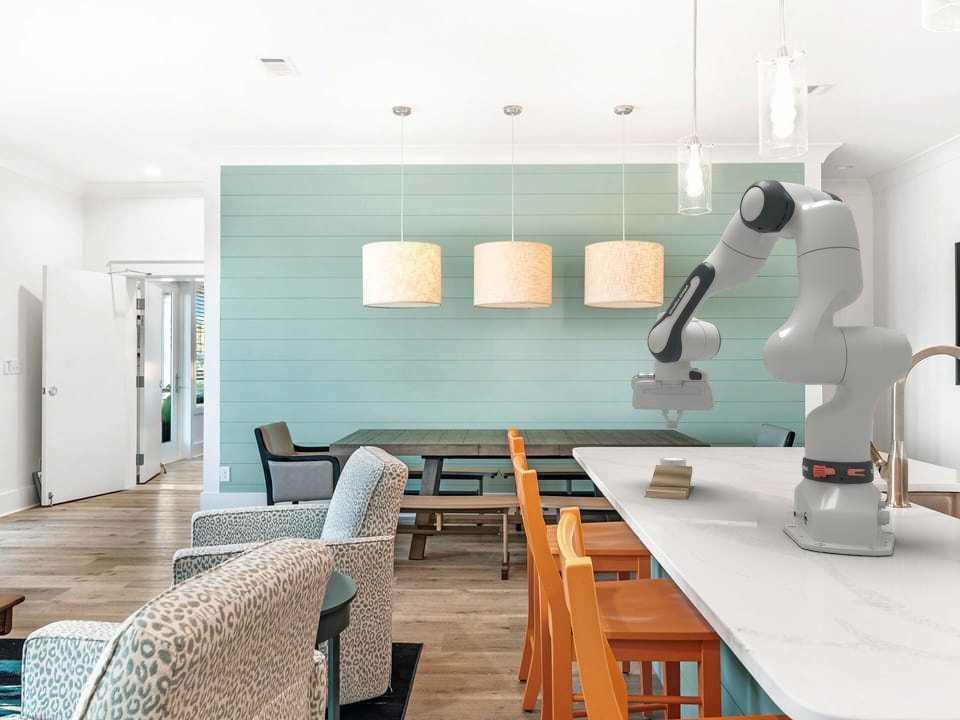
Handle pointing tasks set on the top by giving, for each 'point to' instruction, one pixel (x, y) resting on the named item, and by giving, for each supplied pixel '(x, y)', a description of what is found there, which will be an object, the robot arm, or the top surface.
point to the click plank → (672, 476)
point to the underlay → (687, 496)
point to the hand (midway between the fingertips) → (672, 427)
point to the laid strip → (667, 492)
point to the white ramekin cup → (673, 461)
